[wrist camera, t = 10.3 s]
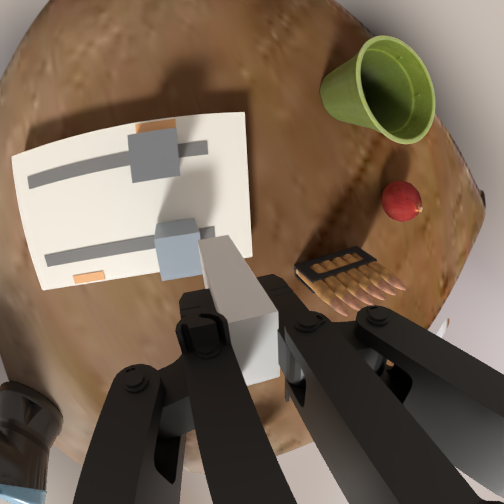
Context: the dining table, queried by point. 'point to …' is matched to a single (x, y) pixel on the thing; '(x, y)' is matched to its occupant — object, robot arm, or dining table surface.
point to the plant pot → (382, 90)
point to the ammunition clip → (347, 278)
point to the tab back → (178, 249)
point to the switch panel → (129, 198)
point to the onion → (401, 201)
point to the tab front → (153, 155)
